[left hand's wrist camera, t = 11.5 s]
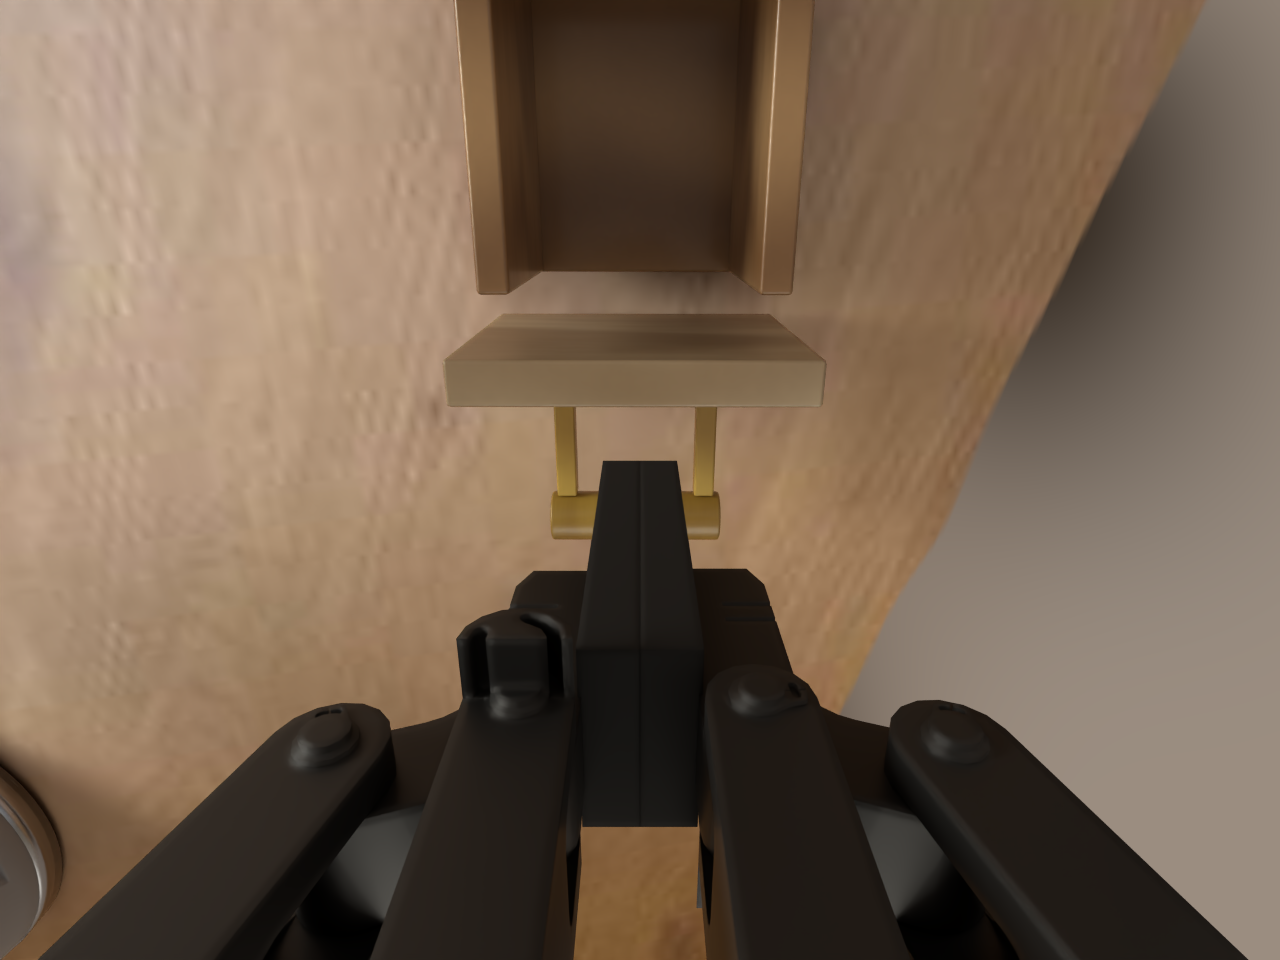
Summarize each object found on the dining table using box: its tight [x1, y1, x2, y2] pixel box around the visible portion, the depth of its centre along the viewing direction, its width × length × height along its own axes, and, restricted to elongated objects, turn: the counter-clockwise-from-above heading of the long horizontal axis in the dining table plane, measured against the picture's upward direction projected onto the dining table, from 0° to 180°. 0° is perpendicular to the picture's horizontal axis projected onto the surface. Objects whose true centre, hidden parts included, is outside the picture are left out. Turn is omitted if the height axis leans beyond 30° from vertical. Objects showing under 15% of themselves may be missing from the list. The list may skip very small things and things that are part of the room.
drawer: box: [443, 0, 827, 540], centre depth 19 cm, size 21×9×8 cm, turn 0°
